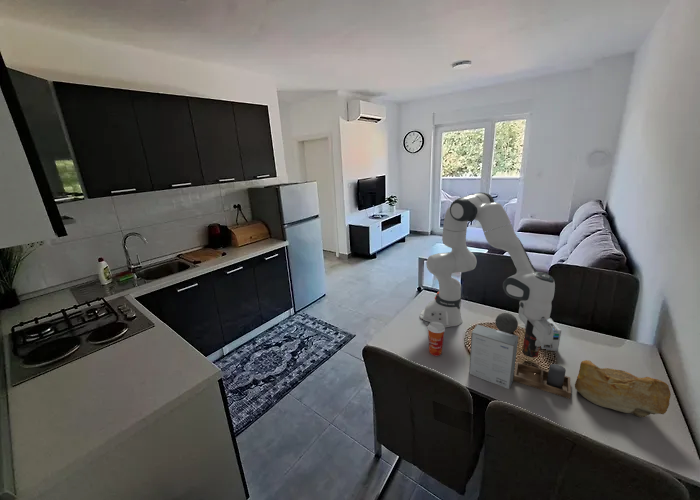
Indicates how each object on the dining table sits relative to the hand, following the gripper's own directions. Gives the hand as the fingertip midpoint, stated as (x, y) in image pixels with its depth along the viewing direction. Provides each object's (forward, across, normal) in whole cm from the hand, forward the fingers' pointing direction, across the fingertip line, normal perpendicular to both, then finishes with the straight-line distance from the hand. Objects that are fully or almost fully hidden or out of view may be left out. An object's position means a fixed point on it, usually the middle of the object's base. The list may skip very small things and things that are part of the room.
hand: (532, 339), depth 124 cm
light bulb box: (+11, +12, -13) cm, 21 cm away
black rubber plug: (+10, -15, -2) cm, 18 cm away
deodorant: (+7, 0, 0) cm, 7 cm away
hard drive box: (+11, -10, +20) cm, 24 cm away
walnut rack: (+10, -13, +2) cm, 17 cm away
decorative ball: (+12, +22, 0) cm, 25 cm away
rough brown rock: (+10, -21, -20) cm, 31 cm away
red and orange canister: (+11, +6, +38) cm, 41 cm away
